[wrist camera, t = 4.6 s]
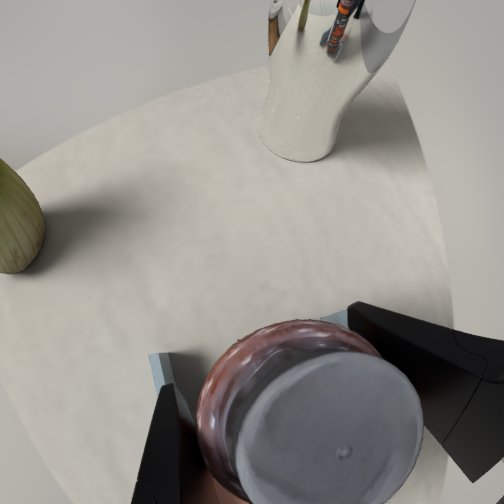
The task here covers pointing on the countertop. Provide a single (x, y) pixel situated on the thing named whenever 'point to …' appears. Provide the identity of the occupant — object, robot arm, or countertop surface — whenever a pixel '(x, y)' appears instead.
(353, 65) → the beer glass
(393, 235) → the countertop surface
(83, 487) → the countertop surface
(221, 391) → the supplement bottle
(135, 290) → the countertop surface
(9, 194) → the fennel bulb
